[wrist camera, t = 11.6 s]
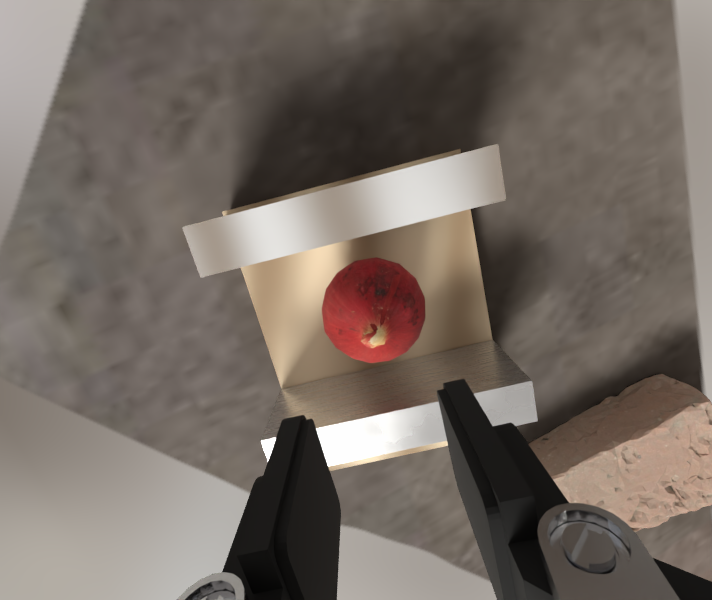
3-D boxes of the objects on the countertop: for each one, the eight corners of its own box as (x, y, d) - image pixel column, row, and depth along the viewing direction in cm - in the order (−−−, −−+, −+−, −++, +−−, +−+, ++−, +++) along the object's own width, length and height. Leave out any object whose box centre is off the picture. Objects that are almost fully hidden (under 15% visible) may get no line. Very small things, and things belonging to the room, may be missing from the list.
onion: (339, 239, 24) (330, 259, 16) (425, 262, 24) (458, 292, 17) (318, 323, 25) (301, 379, 18) (400, 343, 26) (419, 406, 18)
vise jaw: (492, 339, 26) (532, 380, 20) (501, 390, 27) (540, 442, 21) (281, 388, 27) (260, 440, 21) (296, 435, 28) (281, 497, 22)
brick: (517, 538, 32) (543, 594, 28) (467, 471, 31) (487, 518, 26) (700, 442, 30) (762, 486, 26) (658, 363, 28) (717, 394, 24)
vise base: (454, 151, 24) (496, 132, 17) (500, 420, 29) (548, 495, 22) (229, 211, 25) (178, 216, 18) (312, 461, 30) (299, 545, 23)
